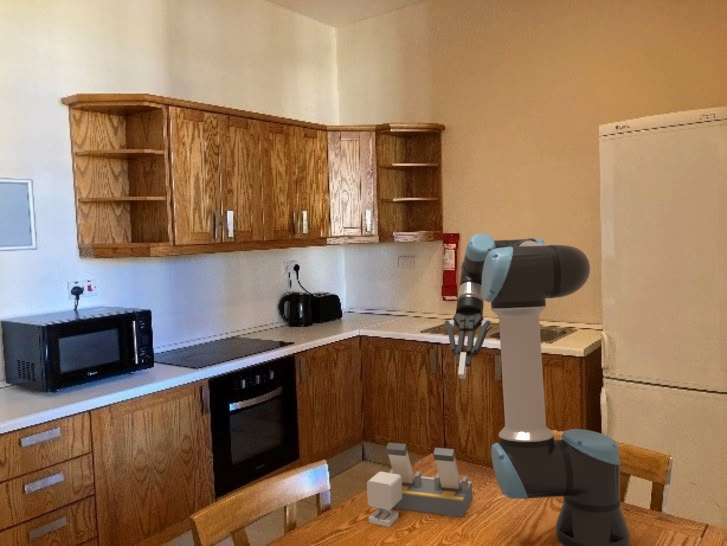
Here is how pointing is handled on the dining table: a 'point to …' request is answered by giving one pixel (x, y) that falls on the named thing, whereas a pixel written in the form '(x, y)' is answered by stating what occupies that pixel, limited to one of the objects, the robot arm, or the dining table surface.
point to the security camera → (384, 497)
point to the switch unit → (435, 496)
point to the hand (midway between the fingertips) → (461, 376)
